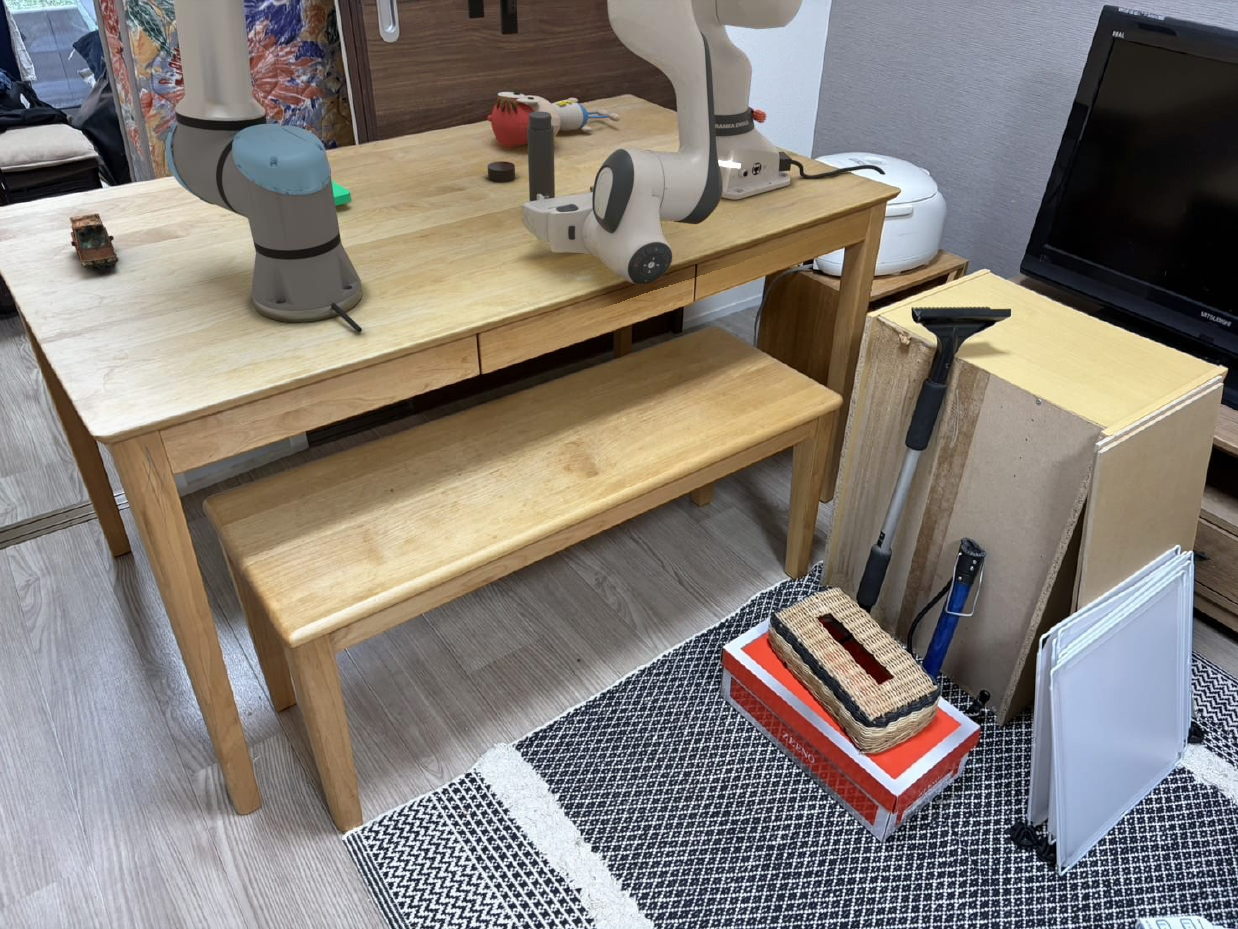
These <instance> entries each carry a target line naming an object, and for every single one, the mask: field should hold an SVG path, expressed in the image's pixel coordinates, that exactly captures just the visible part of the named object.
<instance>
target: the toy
mask: <svg viewBox="0 0 1238 929" xmlns="http://www.w3.org/2000/svg"><path fill="white" fill-rule="evenodd" d="M497 96H498V97H497V99H496V104H494V107H493V109H492V112H491V114H489V115H487V121H488V122H490V125H491V129H492V132H493V135H494V137H495V139H496V141H497V142H498V144H499V145H500V146H501V147H504V148H514V147H516V148H517V147H520V146H523V145H526V144H527V145H528V139H527V126H528V125H529V114H530V113H532V112H548V113H550V114H551V117H552V119H551V125H553V127H554V138H555V137H556V136H557V135H558V133H559V131H562V132H569V131H570V132H572V131H575V130H579V129H581V131H583V132H585V133H589V132H591V131H592V130H593V129H592V127H590V126H588V125H586V124H587V123H588V121H589V119H605V118H606V119H607V118H608V119H609V120H610V121H613V122H615V123H617V122H619V121H620V119H621V118H620V115H619V114H618V113H615V112H611V113H608V111H607V110H606V109H597V111H588V110H587V109H586V107H584V105H582V104H581V103H579V99H577V97H569V98H568V99H563V100H559V101H555V102H551V100H549V99H548V98H544V97H541V96H539V95H531V94H529V95H525V94H523V93H520V92H513V91H502V92H501V91H500V92H498V93H497Z"/></svg>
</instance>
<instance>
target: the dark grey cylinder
mask: <svg viewBox="0 0 1238 929" xmlns="http://www.w3.org/2000/svg"><path fill="white" fill-rule="evenodd" d="M551 119H552V117H551V114H550V113H548V112H532V113H530V114H529V125H528V126H527V139H528V143H527V162H528V163H527V165H528V168H527V169H528V192H529V194H528V195H529V201H536V200H537V194H543V193H546V194H547V195H549V199H550V198H556V185H555V183H556V182H555V179H556V178H555V177H556V176H555V137H554V127H553V125H551Z"/></svg>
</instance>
